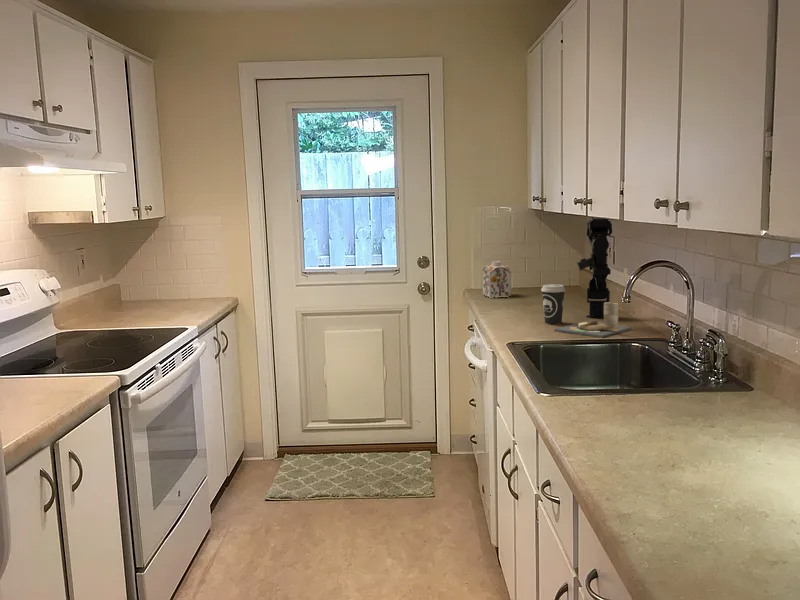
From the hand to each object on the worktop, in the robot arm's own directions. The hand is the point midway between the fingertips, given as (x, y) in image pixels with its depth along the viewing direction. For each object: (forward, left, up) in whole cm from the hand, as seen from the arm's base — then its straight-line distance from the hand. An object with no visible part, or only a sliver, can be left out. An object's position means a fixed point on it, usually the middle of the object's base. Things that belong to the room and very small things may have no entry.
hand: (599, 290), depth 268 cm
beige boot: (+15, +9, -12) cm, 21 cm away
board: (+13, +6, -13) cm, 19 cm away
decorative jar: (-35, -81, -13) cm, 89 cm away
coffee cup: (+9, -15, -13) cm, 22 cm away
